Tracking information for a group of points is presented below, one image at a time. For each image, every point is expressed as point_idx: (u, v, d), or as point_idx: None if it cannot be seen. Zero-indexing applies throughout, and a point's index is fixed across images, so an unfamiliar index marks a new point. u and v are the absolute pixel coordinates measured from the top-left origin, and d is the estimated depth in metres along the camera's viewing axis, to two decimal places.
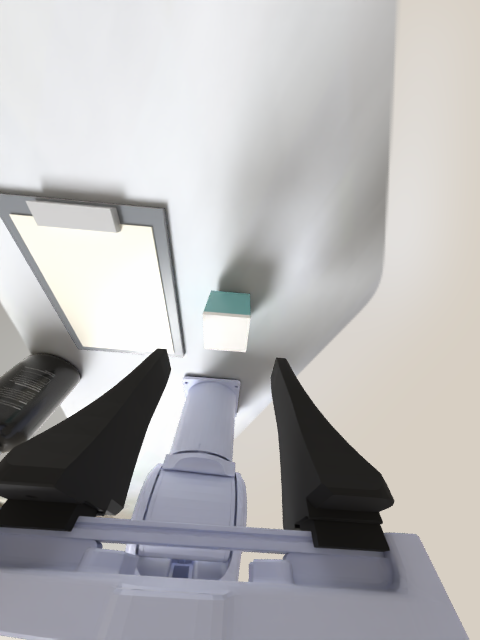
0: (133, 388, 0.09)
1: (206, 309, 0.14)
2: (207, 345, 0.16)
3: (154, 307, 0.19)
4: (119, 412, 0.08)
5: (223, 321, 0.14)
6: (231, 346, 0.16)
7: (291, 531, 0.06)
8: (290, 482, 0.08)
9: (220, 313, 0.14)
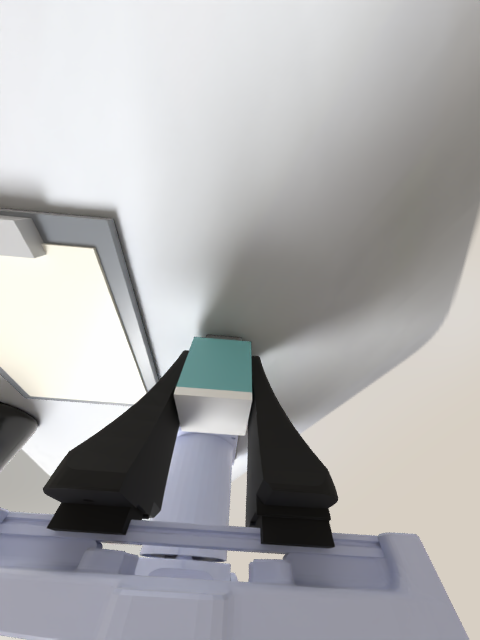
0: (170, 391, 0.09)
1: (181, 381, 0.09)
2: (185, 427, 0.10)
3: (115, 354, 0.13)
4: (161, 415, 0.08)
5: (208, 403, 0.09)
6: (222, 429, 0.10)
7: None
8: (250, 479, 0.08)
9: (203, 391, 0.09)
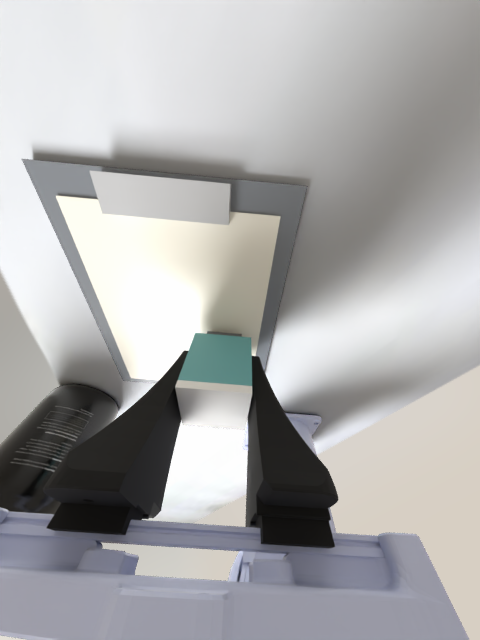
0: (170, 391, 0.09)
1: (182, 375, 0.09)
2: (186, 421, 0.10)
3: (243, 332, 0.13)
4: (161, 415, 0.08)
5: (209, 396, 0.09)
6: (223, 423, 0.10)
7: None
8: (250, 480, 0.08)
9: (204, 384, 0.09)
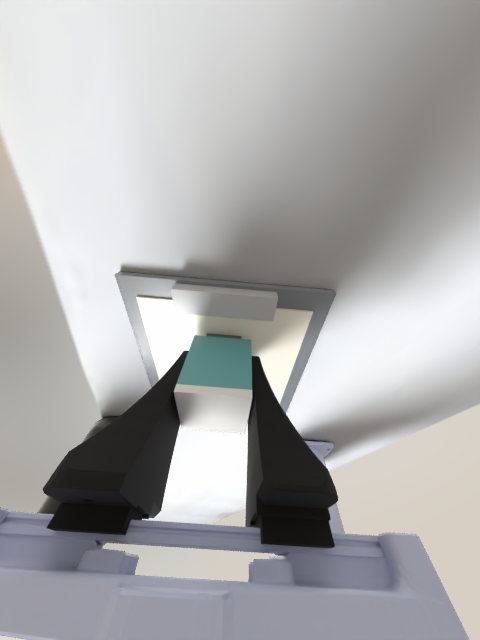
0: (170, 391, 0.09)
1: (181, 379, 0.09)
2: (186, 425, 0.10)
3: (272, 384, 0.16)
4: (161, 415, 0.08)
5: (208, 401, 0.09)
6: (222, 427, 0.10)
7: None
8: (250, 480, 0.08)
9: (204, 388, 0.09)
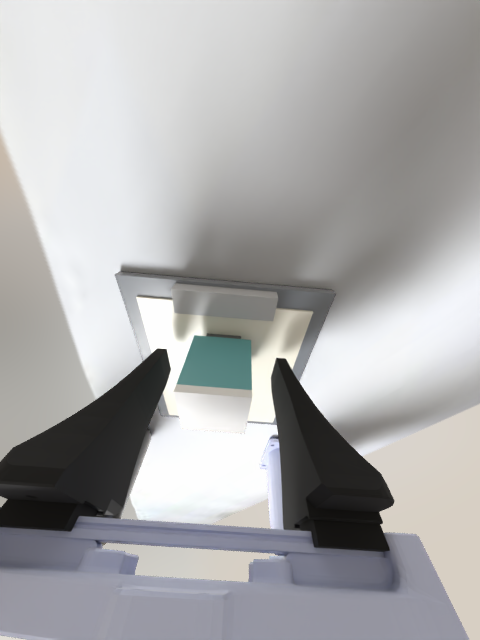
0: (133, 388, 0.09)
1: (181, 379, 0.09)
2: (185, 425, 0.10)
3: None
4: (119, 412, 0.08)
5: (208, 401, 0.09)
6: (222, 427, 0.10)
7: (291, 531, 0.06)
8: (290, 482, 0.08)
9: (203, 388, 0.09)
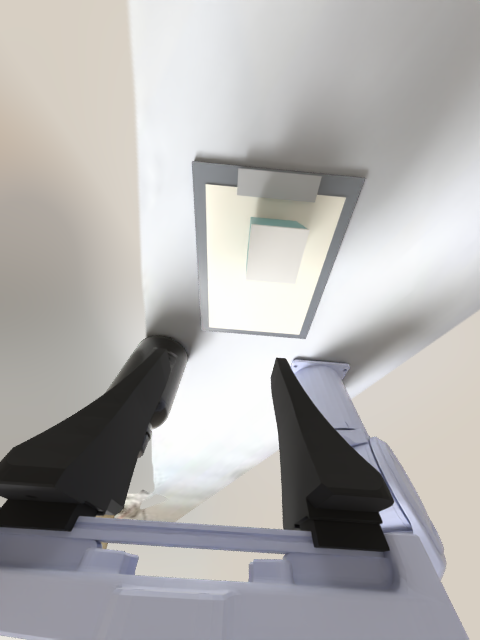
0: (133, 388, 0.09)
1: (253, 223, 0.12)
2: (250, 274, 0.13)
3: (304, 284, 0.19)
4: (119, 412, 0.08)
5: (275, 236, 0.12)
6: (279, 275, 0.13)
7: (291, 531, 0.06)
8: (290, 482, 0.08)
9: (272, 226, 0.12)
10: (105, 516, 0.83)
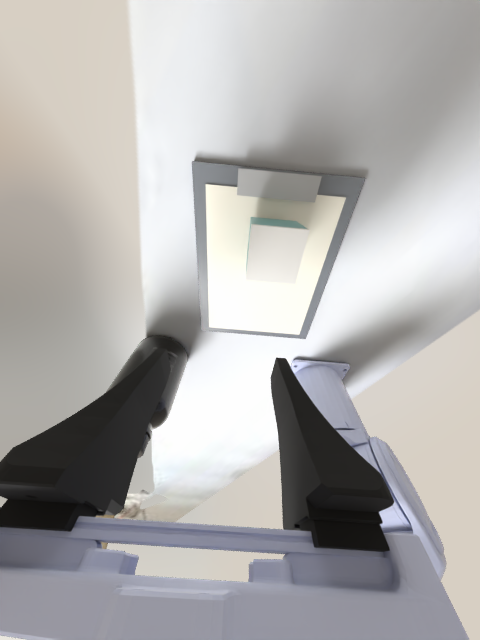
0: (133, 388, 0.09)
1: (253, 223, 0.12)
2: (250, 274, 0.13)
3: (304, 284, 0.19)
4: (119, 412, 0.08)
5: (275, 236, 0.12)
6: (279, 275, 0.13)
7: (291, 531, 0.06)
8: (290, 482, 0.08)
9: (272, 226, 0.12)
10: (105, 516, 0.83)
